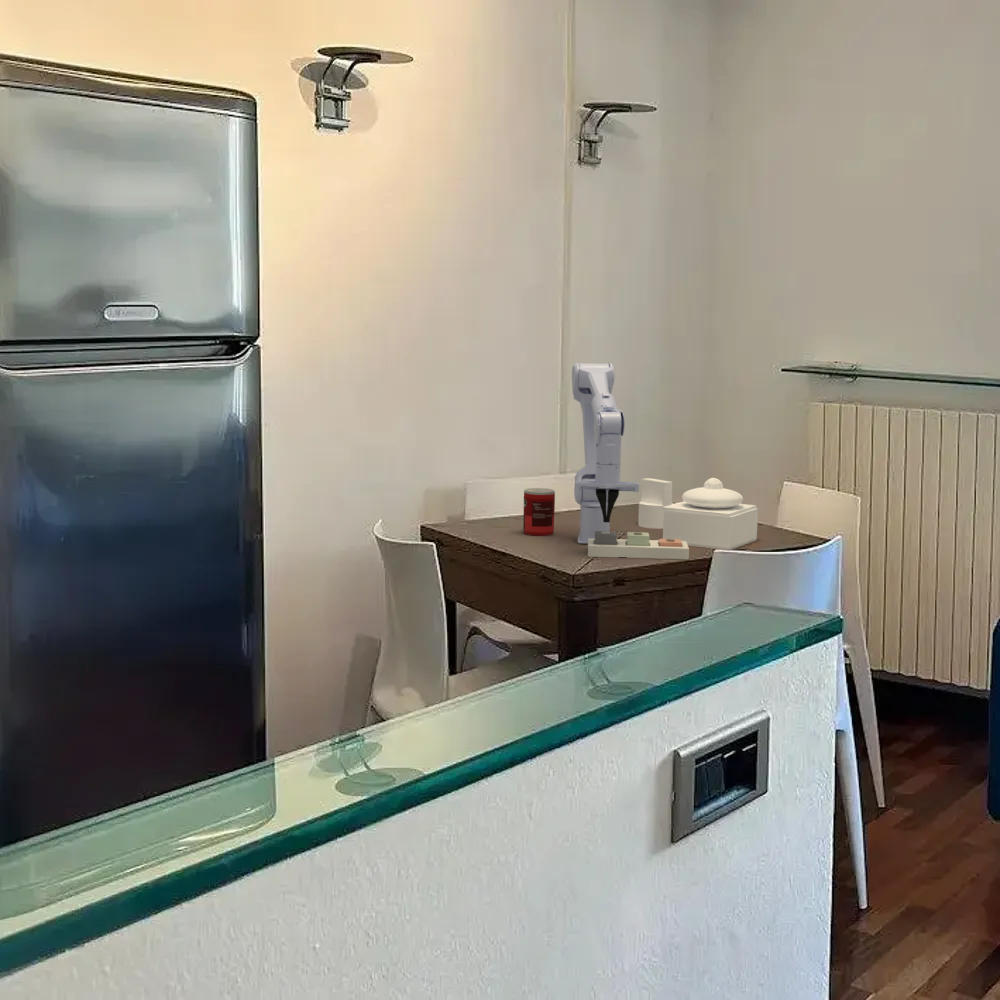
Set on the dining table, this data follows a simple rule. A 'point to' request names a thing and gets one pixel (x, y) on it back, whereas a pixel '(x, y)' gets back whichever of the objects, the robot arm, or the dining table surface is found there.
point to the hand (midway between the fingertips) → (606, 521)
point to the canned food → (539, 511)
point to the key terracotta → (670, 542)
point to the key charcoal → (605, 538)
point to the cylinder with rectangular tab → (654, 502)
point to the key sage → (638, 538)
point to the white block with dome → (711, 518)
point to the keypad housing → (638, 550)
